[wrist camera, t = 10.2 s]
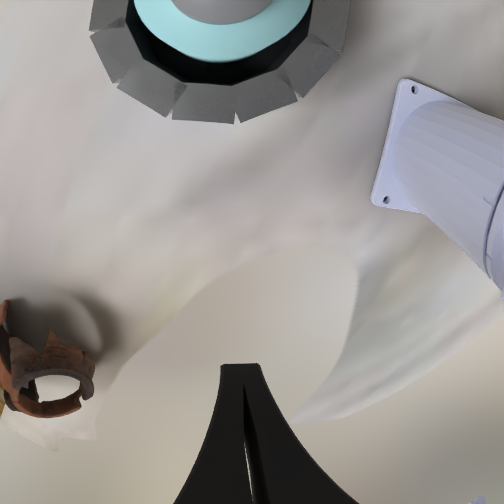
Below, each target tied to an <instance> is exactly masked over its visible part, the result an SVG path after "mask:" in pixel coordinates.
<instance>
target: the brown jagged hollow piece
mask: <svg viewBox="0 0 504 504" xmlns="http://www.w3.org/2000/svg"><path fill="white" fill-rule="evenodd" d="M8 305H9V302H8V301H7V300H5V301H4V302H3V303H2V304H1V306H0V383H1V385H2V387H3V388H4V393H3V395H4V400H5V403H6V405H7V406H8V407H9V408H10V409H11V410H12V411H19V412H23V413H25V414H28V415H30V416H34V417H39V418H53V417H60V416H64V415H68V414H70V413H73V412H75V411H77V410H79V409H80V408H81V403H80V401H79V397H80V396H82V398H83V400H87V399H89V398H91V397H92V396H93V393H94V385H93V382H92V378H93V375H94V371H95V365H94V362H93V360H92V358H91V357H90V355H89V354H88V352H87V351H84V350H83V351H82V350H81V349H80V348H79V347H77V346H74V345H70V344H67V343H64V342H62V341H61V340H59V339H58V337H57V336H56V335H55V334H54V333H53V332H52V331H51V330H49V331H48V339H47V341H46V343H45V346H44V348H43V351H42V353H41V355H39V354H38V353H37V352H36V350H35V349H34V348H33V347H32V346H30V345H29V344H26V343H25V342H23V341H22V340H21V339H19V338H18V337H11V336H10V335H9V334H8V333H7V332H6V331H5V329H4V327H3V325H2V323H3V322H4V320H5V319H6V316H7V314H6V310H7V308H8ZM47 375H64V376H70V377H73V378H75V379H77V380H79V381H80V386H79V389H78V390H77V391H76V392H74V393H73V394H71V395H69V396H67V397H66V398H63V399H58V400H54V401H42V402H41V403H39V402H38V399H39V395H38V393H37V388H36V384H35V378H38V377H41V376H47Z"/></svg>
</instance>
